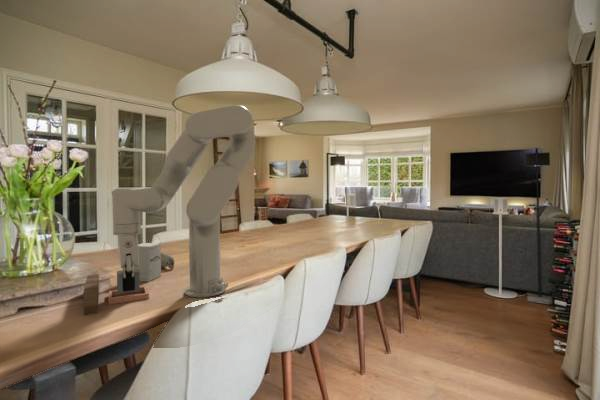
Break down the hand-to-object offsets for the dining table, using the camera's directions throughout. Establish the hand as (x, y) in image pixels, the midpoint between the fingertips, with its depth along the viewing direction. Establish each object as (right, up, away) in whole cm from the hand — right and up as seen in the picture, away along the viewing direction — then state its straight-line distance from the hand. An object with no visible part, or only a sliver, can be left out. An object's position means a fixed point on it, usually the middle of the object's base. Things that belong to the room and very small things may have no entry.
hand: (128, 287), depth 103 cm
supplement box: (-4, -2, +21) cm, 21 cm away
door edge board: (-8, -3, -5) cm, 10 cm away
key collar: (0, -3, 0) cm, 3 cm away
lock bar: (0, -1, 0) cm, 1 cm away
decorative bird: (-6, -1, +37) cm, 38 cm away
